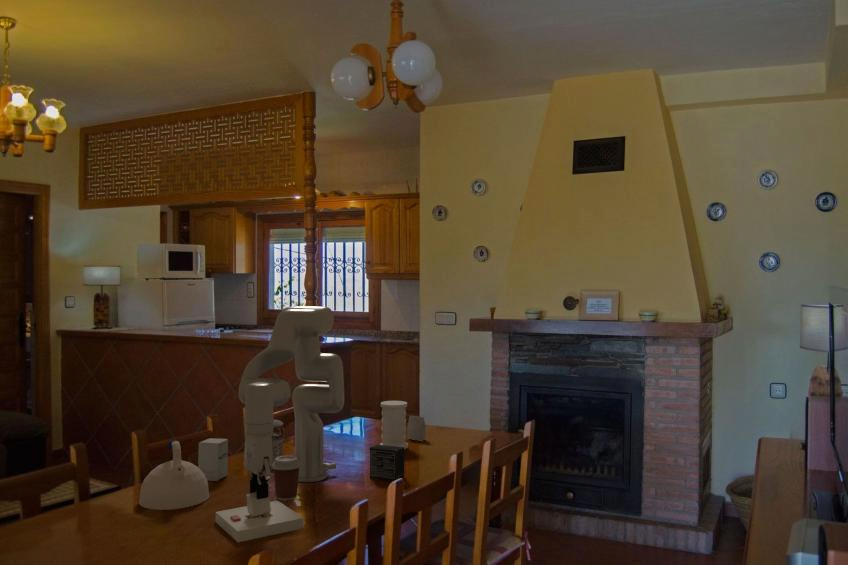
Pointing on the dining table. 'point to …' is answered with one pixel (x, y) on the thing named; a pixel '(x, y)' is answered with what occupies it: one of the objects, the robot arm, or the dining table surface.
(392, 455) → the small box
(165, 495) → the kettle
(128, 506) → the dining table surface
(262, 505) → the plug
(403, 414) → the decorative container
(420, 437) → the grey tapered block
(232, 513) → the socket
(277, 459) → the coffee cup
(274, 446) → the french press
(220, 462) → the supplement box
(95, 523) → the dining table surface
